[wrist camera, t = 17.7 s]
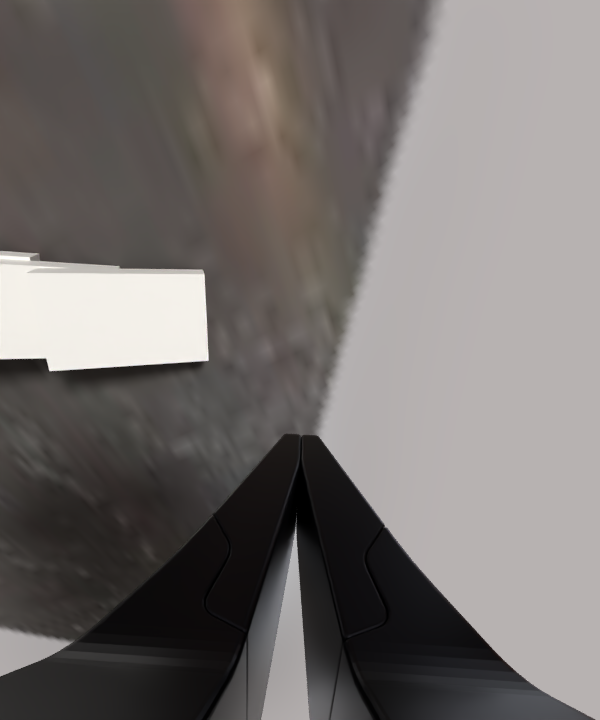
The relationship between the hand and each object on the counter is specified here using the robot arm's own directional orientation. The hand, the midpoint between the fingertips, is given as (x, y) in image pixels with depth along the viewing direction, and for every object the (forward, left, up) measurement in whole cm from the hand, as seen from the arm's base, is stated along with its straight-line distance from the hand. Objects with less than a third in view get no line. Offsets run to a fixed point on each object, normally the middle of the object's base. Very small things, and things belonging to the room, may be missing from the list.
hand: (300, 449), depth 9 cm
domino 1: (0, +6, -12) cm, 14 cm away
